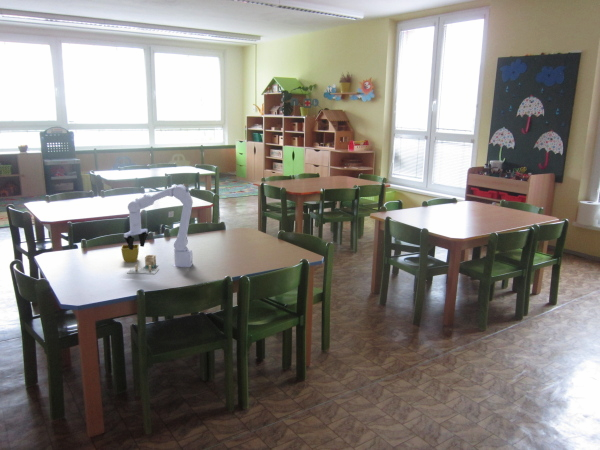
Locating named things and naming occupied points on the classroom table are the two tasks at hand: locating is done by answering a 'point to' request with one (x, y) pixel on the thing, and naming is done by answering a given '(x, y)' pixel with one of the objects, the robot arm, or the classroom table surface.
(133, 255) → the flower pot
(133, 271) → the pin board
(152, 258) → the sleeve
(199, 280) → the classroom table surface
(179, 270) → the classroom table surface
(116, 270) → the classroom table surface
